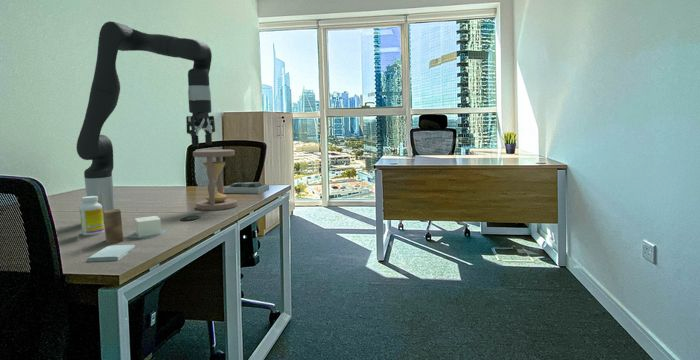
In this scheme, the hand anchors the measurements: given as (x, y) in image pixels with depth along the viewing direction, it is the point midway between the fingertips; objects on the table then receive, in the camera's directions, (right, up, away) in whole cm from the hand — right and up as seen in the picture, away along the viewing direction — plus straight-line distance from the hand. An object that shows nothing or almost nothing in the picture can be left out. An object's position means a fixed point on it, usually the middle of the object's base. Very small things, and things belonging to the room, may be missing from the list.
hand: (202, 145), depth 160 cm
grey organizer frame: (-3, -18, +84) cm, 86 cm away
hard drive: (-16, -34, -31) cm, 49 cm away
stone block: (-3, -19, +84) cm, 86 cm away
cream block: (-15, -30, -9) cm, 35 cm away
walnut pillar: (-22, -32, -17) cm, 43 cm away
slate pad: (-16, -31, -9) cm, 36 cm away
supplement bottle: (-35, -31, -6) cm, 47 cm away
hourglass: (-7, -24, +40) cm, 48 cm away
